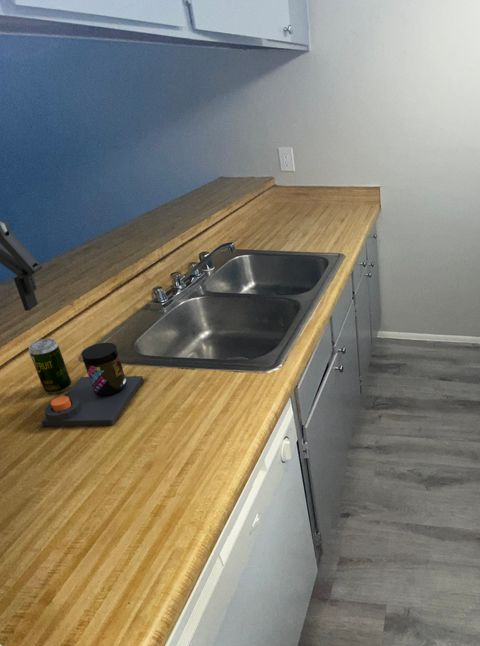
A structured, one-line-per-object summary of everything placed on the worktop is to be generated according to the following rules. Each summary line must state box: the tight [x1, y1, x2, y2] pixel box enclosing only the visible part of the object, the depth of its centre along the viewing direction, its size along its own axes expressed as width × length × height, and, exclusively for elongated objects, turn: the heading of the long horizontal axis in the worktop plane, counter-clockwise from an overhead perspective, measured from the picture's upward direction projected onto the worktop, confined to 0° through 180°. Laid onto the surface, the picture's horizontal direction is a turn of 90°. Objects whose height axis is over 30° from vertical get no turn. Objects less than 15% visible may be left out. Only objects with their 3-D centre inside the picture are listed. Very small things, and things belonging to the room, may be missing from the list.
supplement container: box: [80, 342, 127, 396], centre depth 106 cm, size 7×7×10 cm
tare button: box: [50, 395, 71, 412], centre depth 100 cm, size 3×3×2 cm
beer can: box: [28, 338, 72, 395], centre depth 108 cm, size 5×5×12 cm
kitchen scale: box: [40, 375, 144, 427], centre depth 106 cm, size 14×16×3 cm
